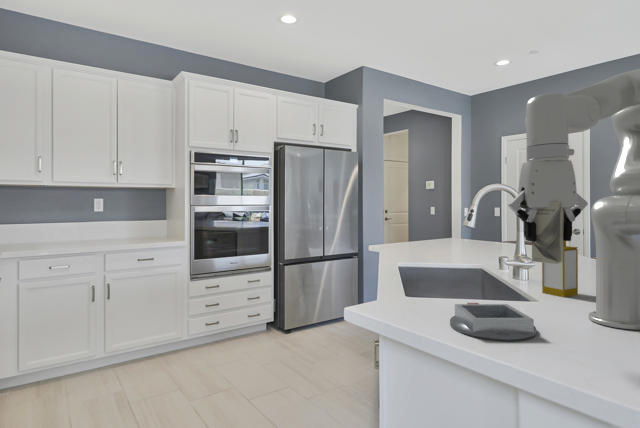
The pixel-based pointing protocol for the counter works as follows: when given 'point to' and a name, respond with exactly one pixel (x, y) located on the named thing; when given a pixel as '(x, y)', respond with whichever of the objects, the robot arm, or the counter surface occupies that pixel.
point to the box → (549, 234)
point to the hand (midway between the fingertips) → (547, 239)
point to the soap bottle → (562, 274)
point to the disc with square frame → (492, 322)
